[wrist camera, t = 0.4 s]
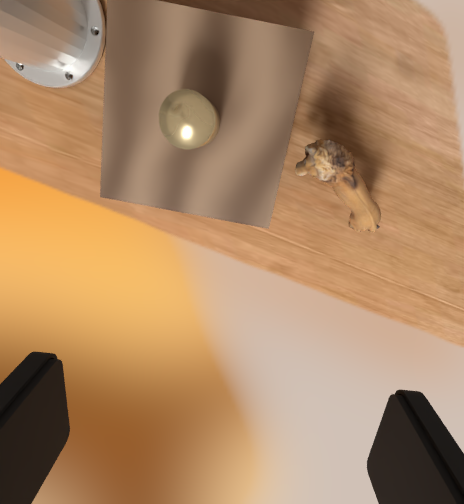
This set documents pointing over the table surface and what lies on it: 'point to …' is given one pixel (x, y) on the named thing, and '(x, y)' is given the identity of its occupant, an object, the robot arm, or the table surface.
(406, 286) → the table surface
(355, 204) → the lion figurine
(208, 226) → the table surface
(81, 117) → the table surface
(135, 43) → the walnut cover
